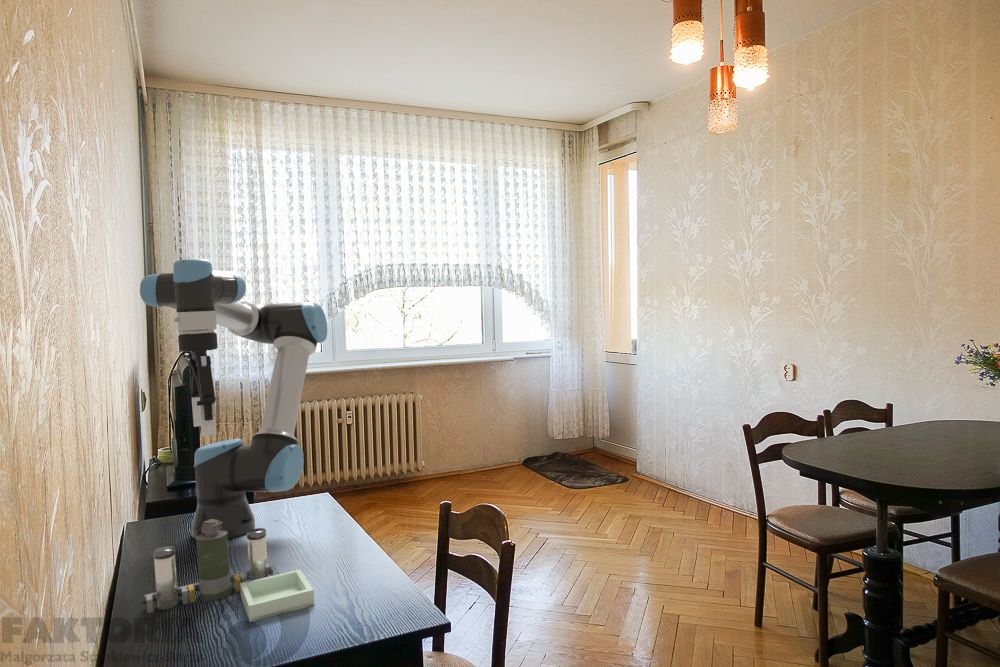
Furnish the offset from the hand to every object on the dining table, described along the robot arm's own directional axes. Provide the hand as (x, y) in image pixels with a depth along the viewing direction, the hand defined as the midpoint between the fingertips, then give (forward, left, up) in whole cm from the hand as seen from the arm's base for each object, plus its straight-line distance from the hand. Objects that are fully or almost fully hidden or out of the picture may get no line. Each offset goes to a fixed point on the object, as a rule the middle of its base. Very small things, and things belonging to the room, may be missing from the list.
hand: (204, 430), depth 140 cm
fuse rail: (+10, -1, -31) cm, 33 cm away
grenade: (+11, -1, -32) cm, 34 cm away
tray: (+22, +9, -31) cm, 40 cm away
